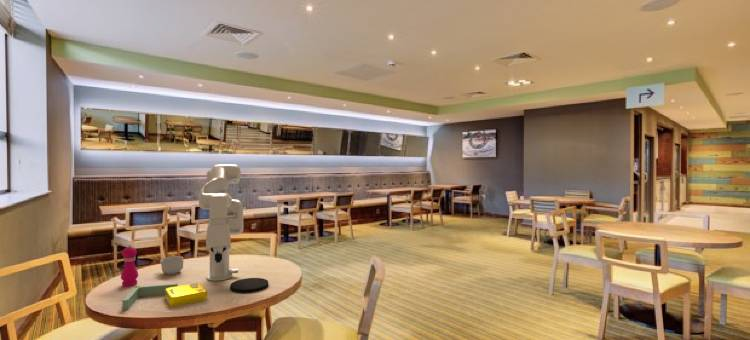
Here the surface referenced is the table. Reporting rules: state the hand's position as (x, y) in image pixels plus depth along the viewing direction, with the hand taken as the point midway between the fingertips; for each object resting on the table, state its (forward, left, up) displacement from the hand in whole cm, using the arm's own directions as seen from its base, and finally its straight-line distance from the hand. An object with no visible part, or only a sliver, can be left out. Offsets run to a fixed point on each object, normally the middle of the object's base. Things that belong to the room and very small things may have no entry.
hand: (218, 262), depth 172 cm
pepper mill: (+43, -28, -16) cm, 53 cm away
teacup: (+28, -45, -16) cm, 55 cm away
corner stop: (+27, -2, -15) cm, 31 cm away
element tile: (+14, 0, -16) cm, 21 cm away
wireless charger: (-13, -8, -16) cm, 22 cm away
